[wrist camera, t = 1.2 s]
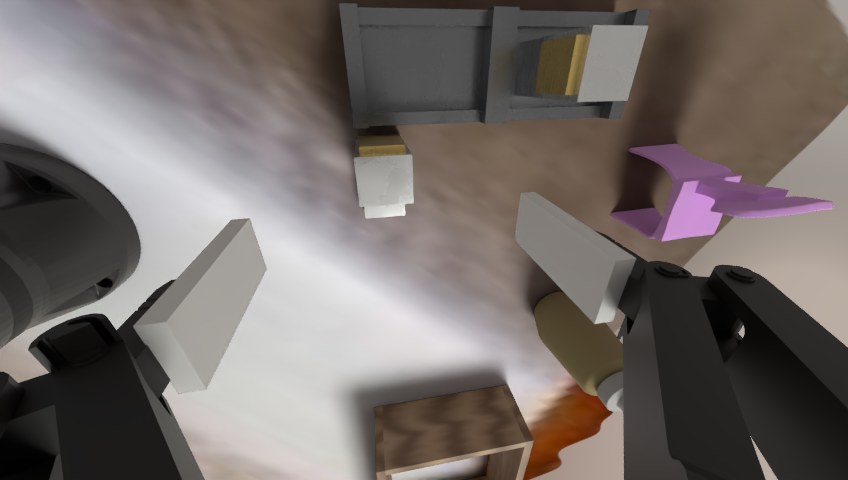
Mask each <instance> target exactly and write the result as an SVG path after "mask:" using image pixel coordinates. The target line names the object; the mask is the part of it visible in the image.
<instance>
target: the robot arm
mask: <svg viewBox="0 0 848 480" xmlns="http://www.w3.org/2000/svg"><path fill="white" fill-rule="evenodd" d="M515 241H516V242H517V243H518V244H519V245H520V246H521V247H522V248H523V249H524V250H525V251H526V253H527V254H528V255H529V256H530V257H531V258H532V259H533V260H534V261H535V262H536V263H537V264H538V265H539V266H540V267H541V268H542V269H543V270H544V271H545V273H546V274H547V275H548V276H549V277H550V278H551V279H552V280H553V281H554V282H555V283H556V284H557V285H558V286H559V287H560V288H561V289H562V290H563V292H564V293H565V294H566V295H567V296H568V297H569V298H570V299H571V300H572V301H573V302H574V303H575V304H576V305H577V306H578V307H579V308H580V309H581V311H582V312H583V313H584V314H585V315H586V316H587V317H588V318H589V319H590V320H591V321H592V322H593V323H594V324H599V323H605V322H611V321H613V320H614V317H615V314H616V312H617V309H618V308H619V309H620V310H621V311H622V312H623V313H624V314H625V315H626V316H625V318H624V321H623V323H622V326H621V328H620V331H619V334H618V336H617V339H620V338H621V336H623V414H624V480H765V477H764V474H763V471H762V468H761V465H760V463H759V460H758V457H757V455H756V451H755V448H754V446H753V443H752V440H751V437H752V439H753V441H754V442H755V444H756V445H757V447H758V448H759V450H760V452H761V453H762V455H763V456H764V458H765V460H766V461H767V463H768V464H769V466H770V467H771V469H772V471H773V472H774V474H775V475H776V477H777V479H778V480H848V347H846V346H845V345H844V344H843V343H842V342H840V341H839V340H838V339H837V338H835V337H834V336H833V335H832V334H831V333H830V332H828V331H827V330H826V329H825V328H824V327H823V326H821V325H820V324H819V323H818V322H816V321H815V320H814V319H813V318H812V317H811V316H809V315H808V314H807V313H806V312H805V311H804V310H802V309H801V308H800V307H799V306H798V305H796V304H795V303H794V302H793V301H792V300H790V299H789V298H788V297H787V296H785V295H784V294H783V293H782V292H781V291H780V290H778V289H777V288H776V287H775V286H774V285H773V284H771V283H770V282H769V281H767V279H765V278H764V277H762V276H761V275H759V274H757V273H755V272H752V271H751V270H749V269H747V268H743V267H739V266H730V265H719V266H716V267H715V268H714V270H713V272H712V274H711V275H710V277H698V276H692V275H691V273H690V272H688V271H687V270H685V269H684V268H682V267H679V266H677V265H675V264H671V263H667V262H661V261H651V262H647V261H646V260H644V259H643V258H641V257H639V256H638V255H636V254H635V253H633V252H632V251H630V250H629V249H627V248H625V247H623V246H622V245H621V244H619V243H618V242H615V241H614V240H613V239H611V238H610V237H608V236H607V235H605V234H602V233H600V232H597V231H594V230H592V229H591V228H589V227H588V226H586V225H585V224H583V223H582V222H580V221H579V220H577V219H575V218H574V217H572V216H571V215H569V214H568V213H566V212H565V211H563V210H562V209H560V208H559V207H557V206H556V205H554V204H553V203H551V202H549V201H548V200H546V199H545V198H543V197H542V196H540V195H539V194H537V193H536V192H527V193H521V196H520V203H519V211H518V218H517V225H516V233H515ZM140 250H141V248H140V240H139V236H138V233H137V230H136V227H135V225H134V223H133V221H132V220H131V218H130V216H129V215H128V213H127V212H126V210H125V209H124V208H123V207H122V205H121V204H120V203H119V202H118V201H117V200H116V199H115V198H114V197H113V196H112V195H111V194H110V193H109V192H108V191H107V190H106V189H105V188H104V187H102V186H101V185H100V184H99V183H97V182H96V181H95V180H93V179H92V178H90V177H89V176H87V175H86V174H84V173H83V172H81V171H79V170H78V169H76V168H74V167H72V166H70V165H68V164H66V163H64V162H62V161H60V160H58V159H55V158H53V157H51V156H48V155H45V154H43V153H40V152H37V151H34V150H30V149H26V148H22V147H18V146H13V145H7V144H0V349H1V348H2V347H3V346H4V345H6V344H7V343H8V342H10V341H11V340H12V339H14V338H15V337H17V336H18V335H19V334H21V333H22V332H24V331H25V330H27V329H29V328H32V327H34V326H37V325H39V324H42V323H44V322H47V321H49V320H52V319H54V318H57V317H59V316H62V315H64V314H67V313H69V312H72V311H74V310H77V309H79V308H82V307H84V306H87V305H89V304H91V303H94V302H96V301H98V300H100V299H102V298H104V297H105V296H107V295H109V294H110V293H111V292H113V291H114V290H115V289H116V288H117V287H119V286H120V285H121V284H122V283H123V282H125V281H126V280H127V279H128V278H129V277H130V276H131V275H132V274H133V272H134V271H135V269H136V267H137V265H138V262H139V259H140ZM266 269H267V268H266V265H265V262H264V259H263V256H262V253H261V250H260V247H259V245H258V242H257V239H256V236H255V233H254V230H253V227H252V224H251V221H250V218H248V219H237V220H231V221H230V222H229V223H228V224H227V225H226V226H225V227H224V229H223V230H222V231H221V232H220V233H219V234H218V235H217V236H216V237H215V238H214V239H213V240H212V241H211V243H210V244H209V245H208V246H207V247H206V248H205V249H204V250H203V251H202V252H201V253H200V254H199V256H198V257H197V258H196V259H195V260H194V261H193V262H192V263H191V264H190V265H189V266H188V267H187V268H186V270H185V271H184V272H183V273H182V274H181V275H180V276H179V277H178V278H177V279H176V280H171V281H169V282H168V283H166V284H164V285H163V286H161V287H160V288H158V289H157V290H156V291H155V292H154V293H153V294H152V295H151V296H150V297H149V298H148V299H147V300H146V302H144V303H143V304H142V305H141V306H140V307H139V308H138V311H135V312H134V313H133V314H132V315H131V316H130V317H129V318H128V319H127V320H126V321H125V322H124V323H123V324H122V325H121V326H120V327H119V328H118V329H117V330H116V329H115V328H114V326H113V325H112V323H111V322H110V321H109V319H108V318H107V317H106V316H105V315H103V314H89V315H83V316H79V317H76V318H73V319H70V320H67V321H65V322H63V323H61V324H59V325H56V326H54V327H52V328H51V329H49V330H47V331H46V332H44V333H43V334H41V335H40V336H38V337H37V338H36V339H35V340H34V341H33V342H32V343H31V344H30V347H29V349H28V351H29V352H30V353H31V354H32V355H33V356H34V357H35V358H36V359H37V360H38V361H39V362H40V363H41V364H42V365H43V366H44V367H45V368H46V369H47V370H48V371H49V373H48V374H45V375H42V376H39V377H36V378H33V379H29V380H26V381H23V382H20V383H17V382H16V381H15V380H14V379H13V378H12V377H11V376H10V375H9V374H7V373H5V372H0V480H205V479H204V477H203V475H202V473H201V471H200V469H199V467H198V464H197V462H196V460H195V458H194V456H193V454H192V452H191V450H190V448H189V446H188V444H187V442H186V439H185V437H184V435H183V433H182V431H181V429H180V427H179V425H178V423H177V421H176V419H175V416H174V414H173V412H172V410H171V408H170V406H169V404H168V402H167V400H166V399H165V397H164V396H163V395H162V393H163V391H164V390H165V388H166V387H167V385H168V383H169V382H171V384H172V385H173V387H174V388H175V390H176V391H177V393H178V394H182V393H188V392H194V391H200V390H206V389H207V387H208V385H209V383H210V381H211V379H212V377H213V375H214V373H215V371H216V369H217V367H218V365H219V363H220V361H221V359H222V357H223V355H224V353H225V351H226V349H227V347H228V345H229V343H230V341H231V339H232V337H233V335H234V333H235V331H236V329H237V327H238V325H239V323H240V321H241V319H242V317H243V315H244V313H245V311H246V309H247V307H248V305H249V303H250V301H251V299H252V297H253V295H254V293H255V291H256V289H257V287H258V285H259V283H260V281H261V279H262V277H263V275H264V273H265V271H266ZM743 325H744V328H745V335H744V337H743V338H742V337H741V336H740V335H739V333H738V332H739V331H740V329H741V328H742V326H743ZM750 436H751V437H750Z"/></svg>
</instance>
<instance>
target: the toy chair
mask: <svg viewBox="0 0 848 480" xmlns="http://www.w3.org/2000/svg"><path fill="white" fill-rule="evenodd" d="M629 152H632V153H635V154H637V155H640V156H643V157H645V158H648V159H650V160H652V161H654V162H656V163H658V164H659V165H661V166H662V167H663V168H664V169H665V170H666V171H667V172H668V173H669V174H670V176H671V177H672V181H673V184H672V189H671V192H670V196H669V200H668V203H667V207H666V210H665V212H664V215H663V217H662V216H661V215H660V214H659V212H658V211H657V209H656V208H647V209H638V210H630V211H622V212H614V213H611V215H610V216H612V217H614V218H616V219H618V220H620V221H621V222H623V223H625V224H627V225H629V226H630V227H632V228H634V229H635V230H637V231H638V232H640V233H641V234H642V235H644V236H645V237H646V238H649V239H652V238H656V239H658V240H660V241H668V240H674V239H679V238H685V237H693V236H704V235H711V234H714V233H715V231H716V229H717V227H718V225H719V222H720V220H721V217H722V214H726V215H730V216H735V217H745V218H758V217H759V218H760V217H774V216H783V215H791V214H798V213H805V212H811V211H817V210H827V209H833V203H832V201H826V200H820V199H814V198H807V197H785V196H786V194H787V192H788V190H785V189H779V188H772V187H765V186H759V185H752V184H745V183H739V181H740V179H741V177H742V175H738V174H734V173H732V172H731V170H730V169H729V168H727V167H725V166H723V165H720V164H717V163H714V162H710V161H707V160H704V159H701V158H698V157H695V156H693V155H692V154H690V153H688V152H687V151H686V150H684V149H683V148H682V147H681V146H680V145H679V144H667V145H656V146H645V147H634V148H629Z"/></svg>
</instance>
